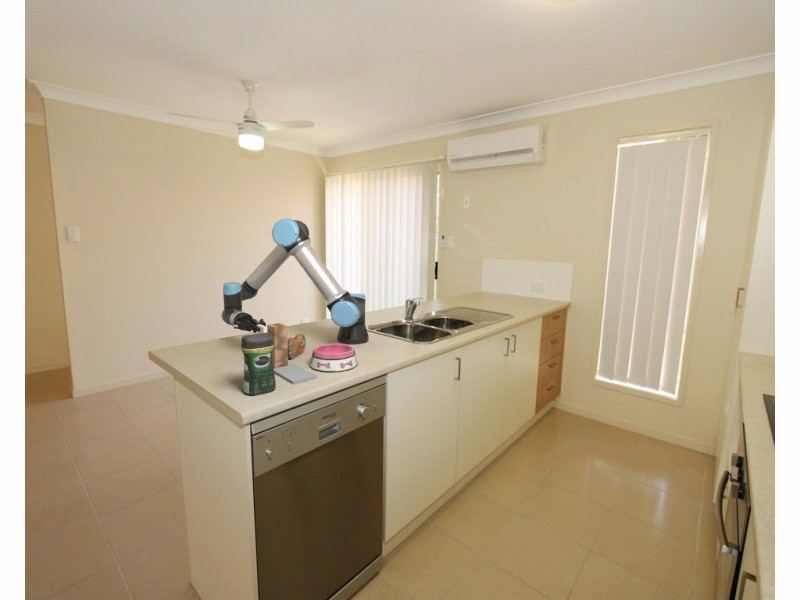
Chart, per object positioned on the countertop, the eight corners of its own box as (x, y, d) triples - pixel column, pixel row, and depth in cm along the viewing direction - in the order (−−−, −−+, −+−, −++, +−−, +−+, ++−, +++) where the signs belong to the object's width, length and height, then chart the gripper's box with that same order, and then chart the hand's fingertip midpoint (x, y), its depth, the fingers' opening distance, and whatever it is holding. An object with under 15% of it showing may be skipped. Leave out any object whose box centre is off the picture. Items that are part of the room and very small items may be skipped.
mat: (294, 366, 145) (294, 364, 145) (316, 378, 133) (316, 375, 133) (271, 371, 139) (271, 369, 138) (293, 384, 127) (293, 381, 127)
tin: (289, 361, 151) (289, 341, 149) (282, 360, 151) (282, 340, 150) (306, 351, 165) (306, 332, 164) (299, 350, 166) (299, 331, 165)
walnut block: (280, 363, 148) (279, 323, 146) (288, 367, 144) (287, 325, 142) (268, 365, 145) (267, 324, 142) (275, 369, 141) (274, 327, 138)
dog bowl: (308, 359, 155) (308, 342, 154) (354, 356, 160) (354, 341, 159) (309, 374, 137) (309, 356, 136) (361, 371, 142) (361, 354, 141)
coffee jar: (269, 383, 128) (268, 329, 125) (278, 391, 122) (277, 334, 119) (239, 389, 122) (237, 333, 119) (247, 398, 116) (245, 338, 113)
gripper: (256, 326, 171) (281, 337, 155) (226, 331, 163) (249, 342, 146) (256, 310, 170) (280, 319, 153) (226, 313, 161) (248, 323, 145)
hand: (265, 330), depth 150 cm, fingers closed
